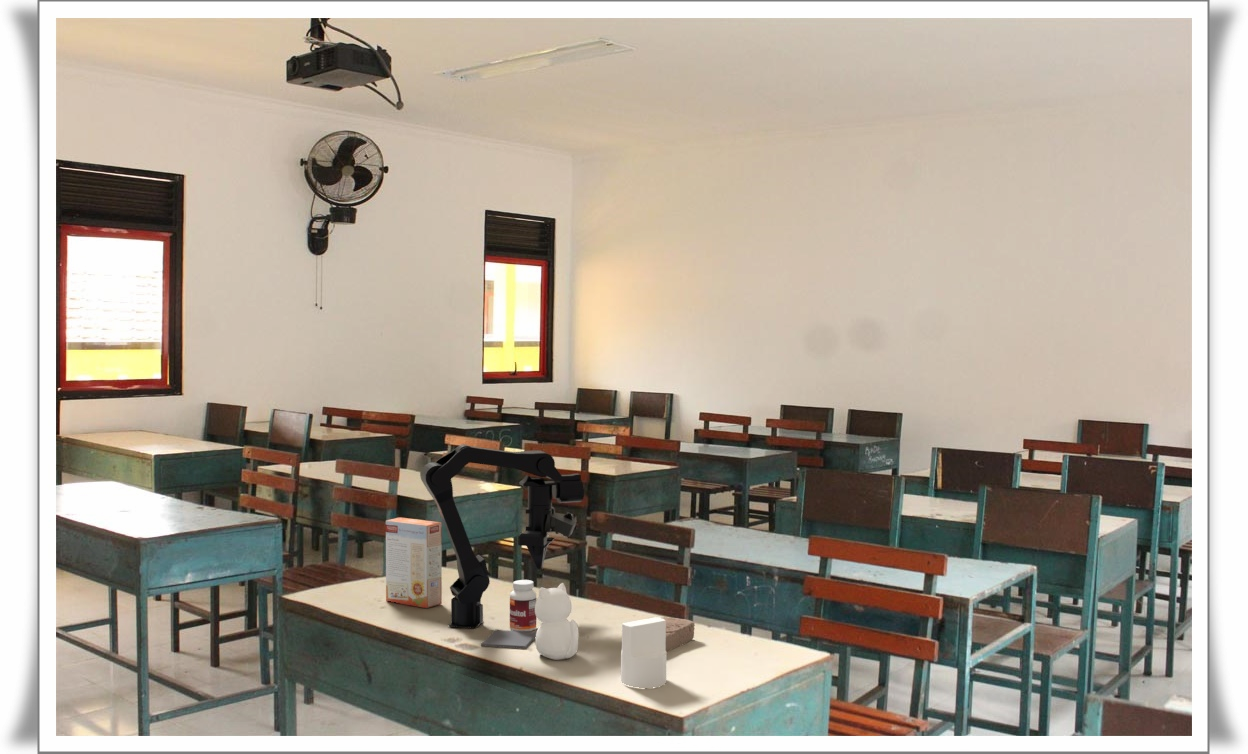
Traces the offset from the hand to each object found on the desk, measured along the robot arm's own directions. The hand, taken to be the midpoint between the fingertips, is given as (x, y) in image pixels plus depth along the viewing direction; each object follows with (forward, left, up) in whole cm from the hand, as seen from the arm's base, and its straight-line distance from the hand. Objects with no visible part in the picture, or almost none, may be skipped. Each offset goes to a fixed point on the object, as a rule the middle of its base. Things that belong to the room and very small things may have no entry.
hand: (539, 568), depth 269 cm
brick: (+31, -17, -12) cm, 38 cm away
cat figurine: (+11, -29, -12) cm, 34 cm away
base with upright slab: (+32, -42, -12) cm, 54 cm away
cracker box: (-34, +8, -12) cm, 37 cm away
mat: (-2, -20, -12) cm, 23 cm away
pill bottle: (-1, -10, -12) cm, 16 cm away
